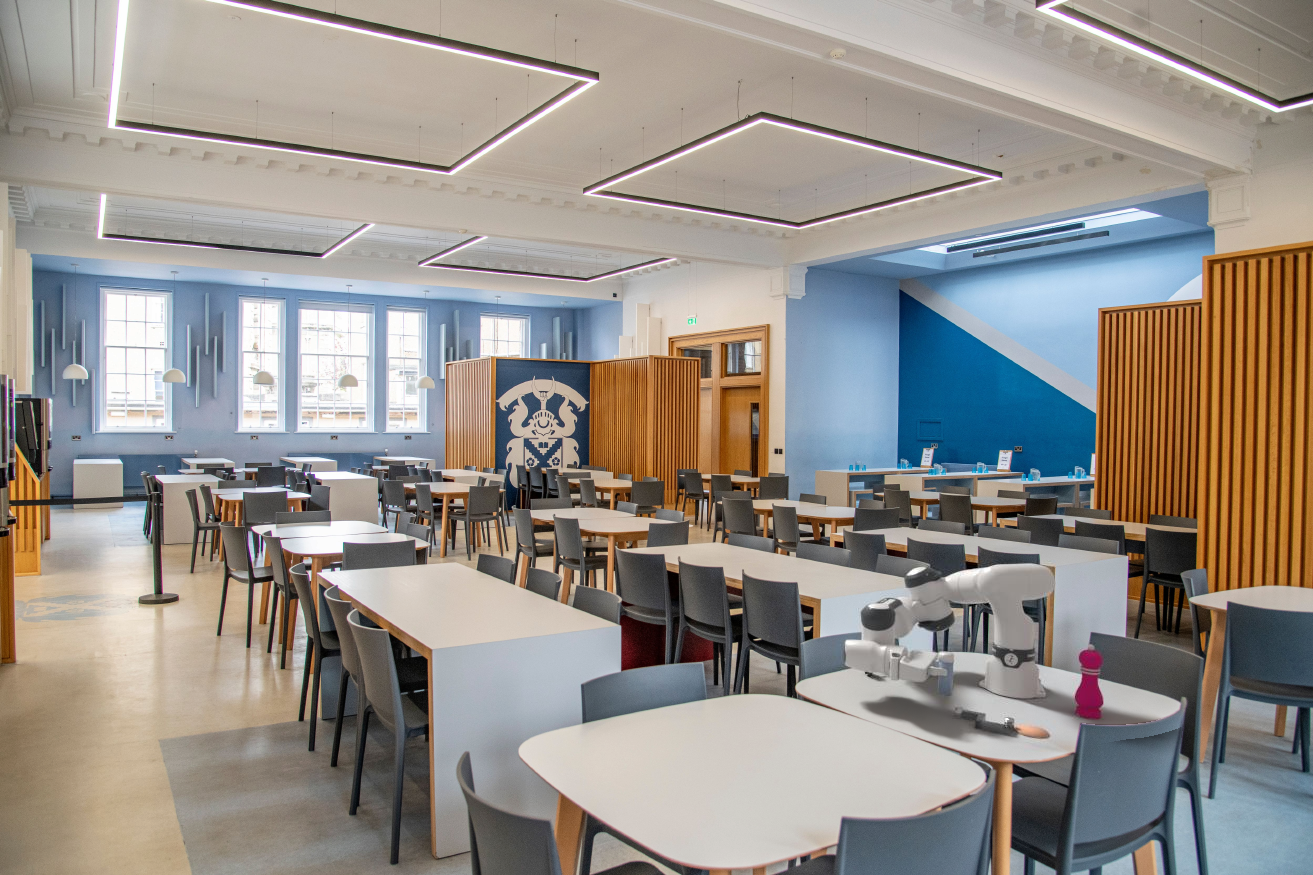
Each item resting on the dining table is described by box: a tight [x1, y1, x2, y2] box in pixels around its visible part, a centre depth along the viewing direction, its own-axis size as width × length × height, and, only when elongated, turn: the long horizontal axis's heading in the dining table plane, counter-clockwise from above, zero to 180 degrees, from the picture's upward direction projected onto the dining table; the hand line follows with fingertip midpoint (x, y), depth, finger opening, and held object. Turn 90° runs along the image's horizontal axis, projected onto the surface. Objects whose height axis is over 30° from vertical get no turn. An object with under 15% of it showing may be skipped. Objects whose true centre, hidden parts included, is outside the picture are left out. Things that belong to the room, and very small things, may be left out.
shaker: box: [937, 651, 955, 696], centre depth 228 cm, size 4×4×11 cm
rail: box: [953, 706, 1015, 736], centre depth 220 cm, size 8×15×2 cm, turn 60°
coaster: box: [1014, 724, 1050, 739], centre depth 216 cm, size 8×8×1 cm
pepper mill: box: [1074, 644, 1104, 720], centre depth 231 cm, size 7×7×20 cm
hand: (949, 669), depth 227 cm, fingers closed on shaker, 4 cm apart
